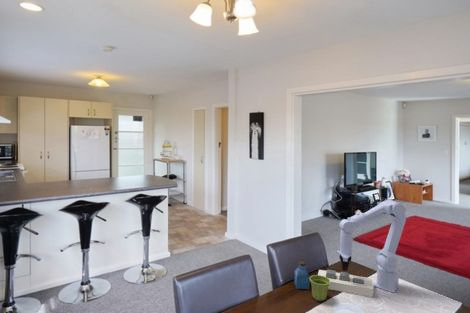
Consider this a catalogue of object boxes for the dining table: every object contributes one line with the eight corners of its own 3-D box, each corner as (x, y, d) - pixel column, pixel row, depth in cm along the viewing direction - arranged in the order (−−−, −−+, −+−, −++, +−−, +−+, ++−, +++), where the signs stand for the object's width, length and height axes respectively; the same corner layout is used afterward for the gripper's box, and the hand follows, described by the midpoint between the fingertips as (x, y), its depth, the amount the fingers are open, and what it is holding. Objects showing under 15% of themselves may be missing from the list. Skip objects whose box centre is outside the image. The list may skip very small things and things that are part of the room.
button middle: (349, 280, 155) (349, 273, 155) (348, 284, 151) (349, 276, 151) (339, 279, 157) (340, 271, 156) (339, 282, 152) (339, 275, 152)
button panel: (371, 286, 155) (371, 278, 155) (373, 297, 144) (373, 289, 143) (318, 276, 164) (319, 269, 164) (316, 286, 153) (316, 279, 153)
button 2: (362, 287, 153) (362, 279, 153) (362, 291, 149) (363, 283, 149) (353, 285, 154) (353, 277, 154) (353, 289, 150) (353, 281, 150)
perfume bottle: (309, 289, 151) (309, 265, 150) (296, 288, 151) (297, 265, 150) (306, 283, 157) (307, 260, 156) (294, 282, 157) (295, 260, 156)
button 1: (335, 278, 157) (335, 270, 157) (335, 282, 153) (335, 274, 153) (326, 276, 159) (327, 269, 159) (326, 280, 155) (326, 272, 155)
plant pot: (330, 294, 146) (330, 276, 145) (329, 304, 137) (330, 285, 136) (310, 291, 149) (310, 273, 148) (308, 300, 140) (308, 282, 139)
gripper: (338, 238, 161) (337, 263, 162) (337, 247, 147) (335, 274, 148) (352, 240, 158) (351, 265, 159) (352, 249, 145) (351, 277, 146)
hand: (344, 270), depth 153 cm, fingers closed
